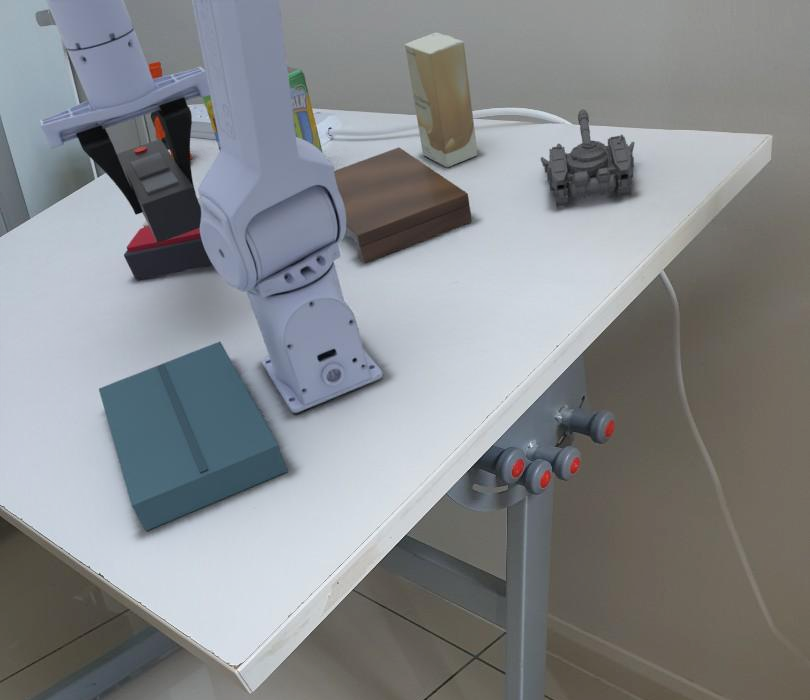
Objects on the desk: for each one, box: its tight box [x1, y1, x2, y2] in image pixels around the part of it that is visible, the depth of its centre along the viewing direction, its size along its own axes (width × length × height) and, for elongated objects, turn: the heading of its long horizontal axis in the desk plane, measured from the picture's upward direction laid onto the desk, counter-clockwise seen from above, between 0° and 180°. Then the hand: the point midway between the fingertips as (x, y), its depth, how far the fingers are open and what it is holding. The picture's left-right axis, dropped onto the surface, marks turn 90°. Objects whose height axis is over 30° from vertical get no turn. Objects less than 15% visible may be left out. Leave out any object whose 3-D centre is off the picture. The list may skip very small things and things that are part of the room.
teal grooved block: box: [98, 341, 289, 532], centre depth 69 cm, size 18×11×3 cm, turn 23°
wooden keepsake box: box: [334, 147, 473, 264], centre depth 92 cm, size 18×12×3 cm, turn 23°
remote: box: [116, 139, 201, 243], centre depth 79 cm, size 16×4×4 cm, turn 22°
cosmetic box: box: [404, 31, 478, 168], centre depth 98 cm, size 6×4×12 cm
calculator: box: [123, 197, 213, 281], centre depth 95 cm, size 11×4×15 cm
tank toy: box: [540, 109, 635, 207], centre depth 87 cm, size 12×10×5 cm
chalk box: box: [202, 66, 324, 154], centre depth 103 cm, size 9×9×15 cm
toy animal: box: [148, 61, 193, 160], centre depth 116 cm, size 8×6×12 cm
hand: (164, 200), depth 80 cm, fingers closed on remote, 4 cm apart
